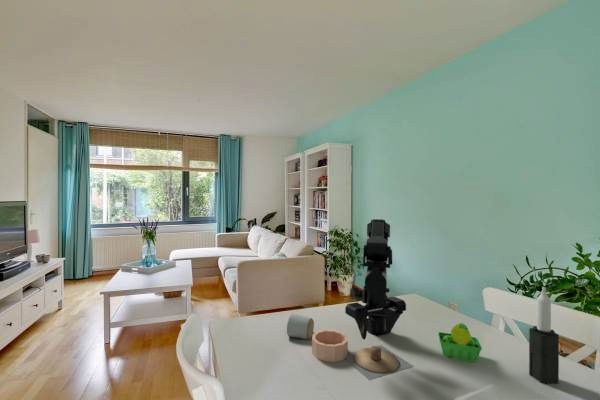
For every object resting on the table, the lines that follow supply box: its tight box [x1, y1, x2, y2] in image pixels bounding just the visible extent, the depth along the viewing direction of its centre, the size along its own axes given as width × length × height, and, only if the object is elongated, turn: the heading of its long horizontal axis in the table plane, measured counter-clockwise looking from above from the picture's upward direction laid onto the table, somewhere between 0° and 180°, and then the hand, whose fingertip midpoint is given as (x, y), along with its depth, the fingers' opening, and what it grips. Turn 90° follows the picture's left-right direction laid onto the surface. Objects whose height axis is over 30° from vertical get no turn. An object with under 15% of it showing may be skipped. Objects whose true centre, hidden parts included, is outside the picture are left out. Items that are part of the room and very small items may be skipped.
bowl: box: [311, 329, 349, 363], centre depth 93 cm, size 11×11×5 cm
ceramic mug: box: [286, 312, 315, 340], centre depth 106 cm, size 11×8×8 cm
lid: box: [354, 345, 399, 373], centre depth 89 cm, size 13×13×4 cm
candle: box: [528, 286, 560, 385], centre depth 81 cm, size 5×5×25 cm
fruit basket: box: [437, 322, 483, 363], centre depth 93 cm, size 11×9×11 cm
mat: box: [344, 344, 415, 381], centre depth 89 cm, size 16×14×1 cm
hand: (376, 335), depth 89 cm, fingers open, 9 cm apart
